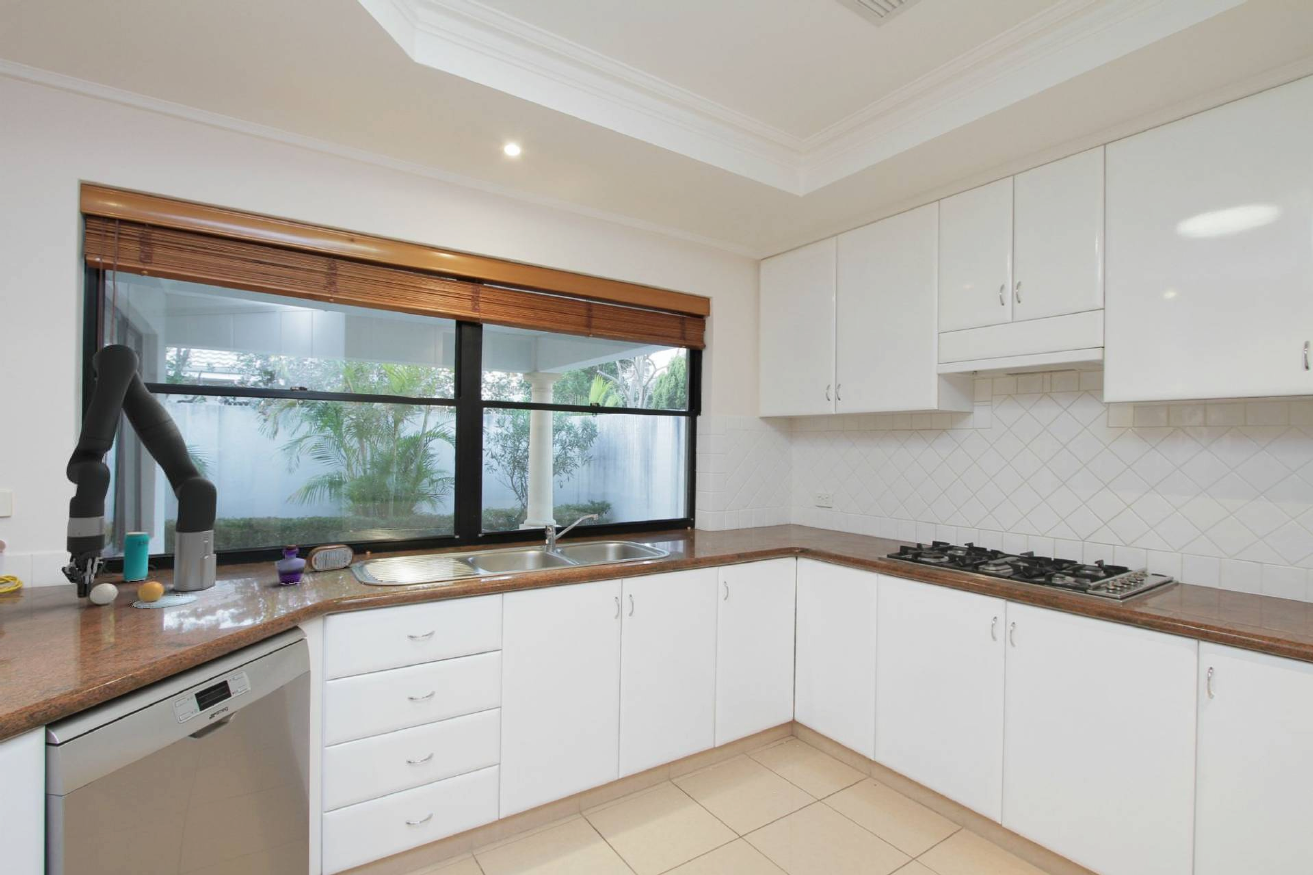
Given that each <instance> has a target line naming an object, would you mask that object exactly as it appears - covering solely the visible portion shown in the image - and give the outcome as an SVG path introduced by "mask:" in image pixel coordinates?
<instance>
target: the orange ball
mask: <svg viewBox="0 0 1313 875" xmlns="http://www.w3.org/2000/svg"><path fill="white" fill-rule="evenodd" d="M164 589H165V588H164V586H163V584H161V583H160V582H157V581H147V582H146V583H143V584H142V585H141V586H140V587H139V588H138V591H137V596H138V599H139V600H142V601H145V602H153V601H156V600H158V599H159V598H160V597H161V596H164V592H165V590H164Z"/></svg>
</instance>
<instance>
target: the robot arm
mask: <svg viewBox="0 0 1313 875" xmlns="http://www.w3.org/2000/svg"><path fill="white" fill-rule="evenodd" d="M91 364H92V367H93V369H94V371H95V372H96V373H97V378H96V384H95V386H96V387H95V390H94V393H93V396H92V398H91V401H90V404H89V407H88V408H87V412H86V415H84V419H83V423H82V425H81V431H80V434H79V437H78V443H77V445H76V447H75V448H74V450H73V452H72V454H71V456H70V458H69V460H68V462H67V466H66V471H65V473H66V474H65V475H66V478H67V480H68V481H69V482H71V483H72V484H74V485H76V491H75V495H74V496H72V497H71V498H70V500H69V506H68V507H69V510H68V511H69V512H68V513H69V514H68V522H67V529H66V552H67V553H70V558H69V564H68V565H67V566H62V567H61V572H62V573H63V575H64V576H65V577H66V578H67V580H68V581H69V583H70V584H76V587H77V591H76V595H77V596H76V597H77V598H79V599H83V598H84V599H85V598H88V597H89V598H90V593H91V591H92V583H94V581H95V579H96V580H97V579H99V577H100V575H101V573H102V572H103V570H104V568H105V566H106V565H107V562H108V559H107V558H103V557H101V555H102V554H101V551H103V550H104V549H105V542H106V541H105V539H106V520H105V508H106V507H105V506H106V505H105V503H106V502H105V500H106V496H107V494H108V491H109V487H110V483H111V470H110V468H109V466H108V465H107V464H106V463H105V462H103V459H104V456H105V454H106V453H107V452H109V451H111V450H112V448H113V446H114V441H115V437H116V435H117V434H116V433H117V428H118V425H119V421H120V416H121V412H122V410H123V412H124V414H125V416H126V419H127V420H128V421H129V423H130V425H131V427H132V429H133V430H134V432H135V434H136V435H137V437H138V438H139V440H140V442H141V443H142V444H143V446H144V448H145V449H146V450H147V452H148V453H149V454H150V456H151V457H152V458H153V459H154V461H155V462H156V463H157V464H158V465H159V467H160V468H161V469H162V471H163V472H164V474H165V476H166V478H167V479H168V482H169V484H170V486H171V488H172V491H173V494H174V495H175V498H176V500H177V501H178V502H177V504H178V505H177V518H176V522H175V537H174V538H175V541H174V568H173V569H174V570H173V590H174V591H180V592H181V591H182V592H184V591H185V592H186V591H187V592H188V591H196V590H206V589H208V588H211V587H214V586H215V585H216V579H217V578H216V576H217V575H216V573H217V554H216V553H214V538H215V537H214V534H215V532H214V530H215V529H214V528H215V522H216V518H217V501H218V500H217V499H218V493H217V488H216V486H215V484H214V483H213V482H212V481H210V480H208V479H206V478H205V477H204V475H202V473H201V472H200V471H199V469H198V468H197V466H196V465H195V464H194V462H193V461H192V458H191V457H190V454H189V452H188V449H187V446H186V443H185V440H184V438H183V436H182V433H181V432H180V429H179V428H178V425H177V424H176V422H175V421H174V419H173V417H172V416H171V414H170V413H169V412H168V410H166V408H165V407H164V406H163V405H162V404H161V402H160V401H158V399H156V397H154V395H153V394H152V393H151V392H150V391H149V390H148V388H147V386H146V385H145V383H144V381H143V379H142V377H141V376H140V373H139V371H138V369H139V367H140V358H139V356H138V354H137V352H135V350H134V349H132V348H131V347H129V346H127V345H124V344H118V343H115V344H109V345H106V346H104V347H101V348H100V349H98V350H97V351H96V352H95V353H94V355H93V356H92V361H91Z"/></svg>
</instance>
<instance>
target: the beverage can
mask: <svg viewBox="0 0 1313 875" xmlns="http://www.w3.org/2000/svg"><path fill="white" fill-rule="evenodd" d="M125 535H126V536H125V537H124V545H123V546H124V547H123V548H124V550H123V578H124V581H125V582H126V581H127V582H126V583H131V582H130V581H137V580H144V581H145V580H146V578H147V577H148V572H149V568H148V567H149V546H150V545H149V544H150V542H149V541H150V540H149V539H150V537H149V535H148V532H147V531H133V532H130V531H129V532H126V533H125Z"/></svg>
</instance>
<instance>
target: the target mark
mask: <svg viewBox="0 0 1313 875" xmlns="http://www.w3.org/2000/svg"><path fill="white" fill-rule="evenodd" d="M167 595H168V594H166V596H165V595H162V596H161V597H160V598H159V599H158V600H156V601H153V602H145V601H142V600H141V599H139V600H137V601H135V602H133V603H132V604H133V605H132V604H131V606H132V607H133V606H134V607H133V608H135V607H136V606H140V607H137V608H136V609H143V608H150V609H160V608H161V609H162V607H164V608H169V607H168V606H172V607H177V605H178V606H181V605H180V604H182V605H186V603H187V604H190V603H192V602H195V601H196V600H198V596H197V595H193V594H182V593H181V594H179V595H180V596H176V595H177V594H174V595H175V596H167ZM181 595H183V596H181ZM184 595H185V596H184ZM187 595H188V596H187ZM189 595H190V596H189ZM191 595H192V596H191ZM194 600H195V601H194ZM189 602H190V603H189ZM136 604H138V605H136ZM148 604H151V605H148ZM143 606H144V607H143ZM145 606H146V607H145ZM149 606H151V607H149ZM152 606H153V607H152Z"/></svg>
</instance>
